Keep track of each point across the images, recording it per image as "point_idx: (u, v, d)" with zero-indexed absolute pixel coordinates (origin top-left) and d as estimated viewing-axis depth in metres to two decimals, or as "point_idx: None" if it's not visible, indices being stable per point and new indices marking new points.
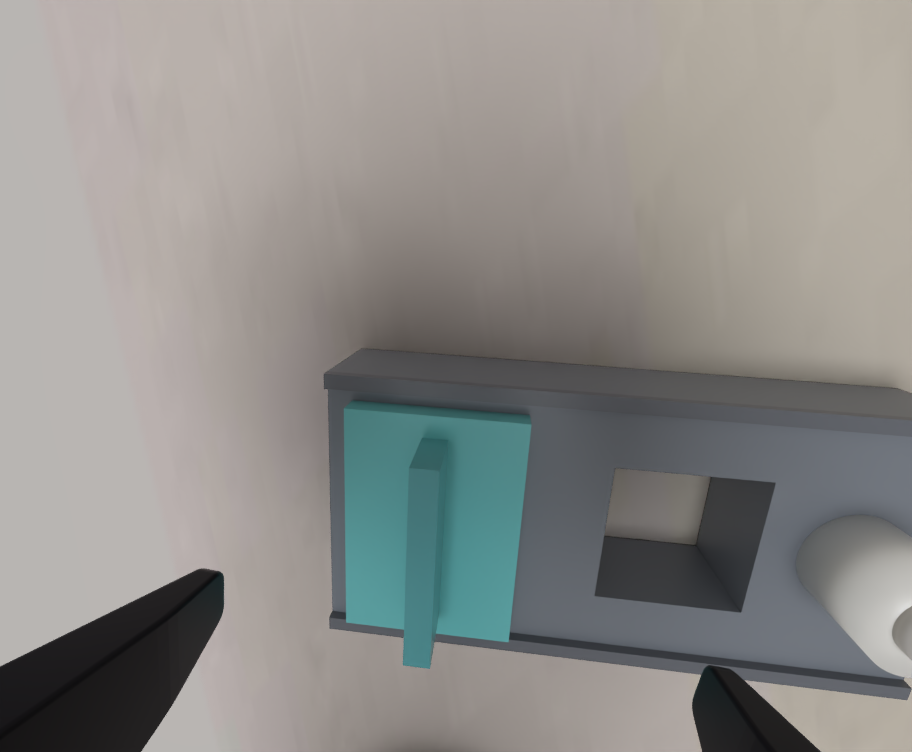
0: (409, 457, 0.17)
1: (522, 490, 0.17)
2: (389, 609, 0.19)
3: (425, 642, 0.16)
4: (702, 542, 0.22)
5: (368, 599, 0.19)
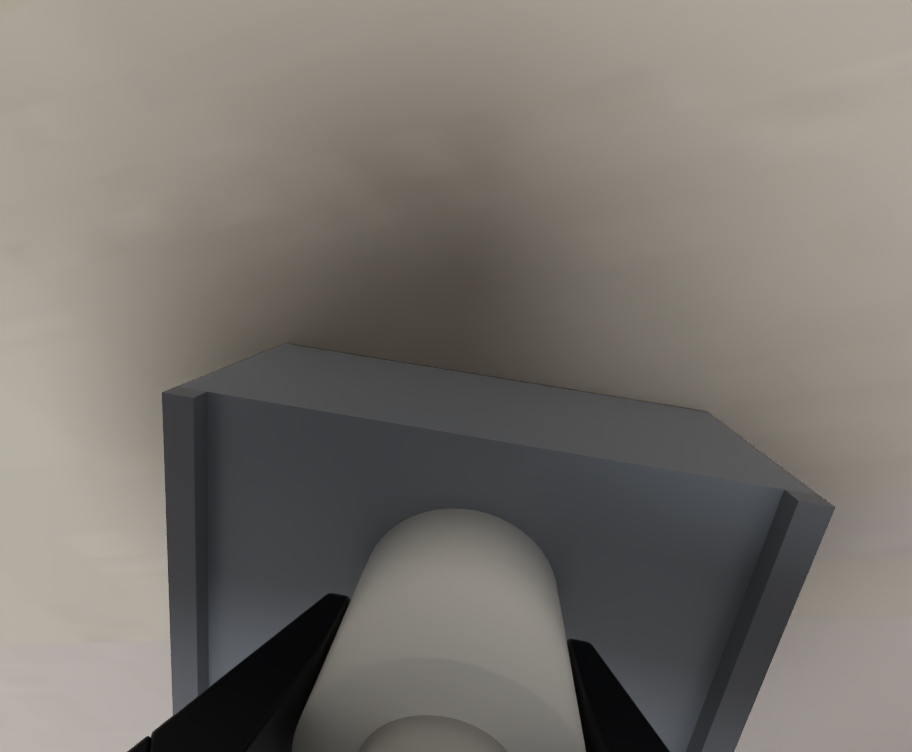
0: None
1: None
2: None
3: None
4: None
5: None
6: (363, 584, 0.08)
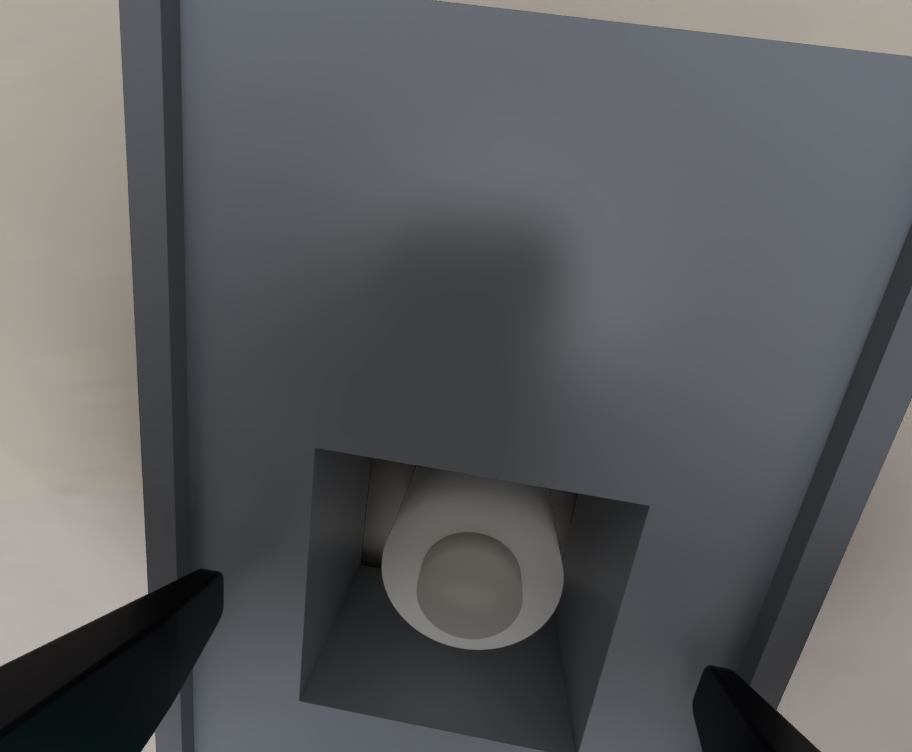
0: None
1: None
2: None
3: None
4: None
5: None
6: (417, 475, 0.12)
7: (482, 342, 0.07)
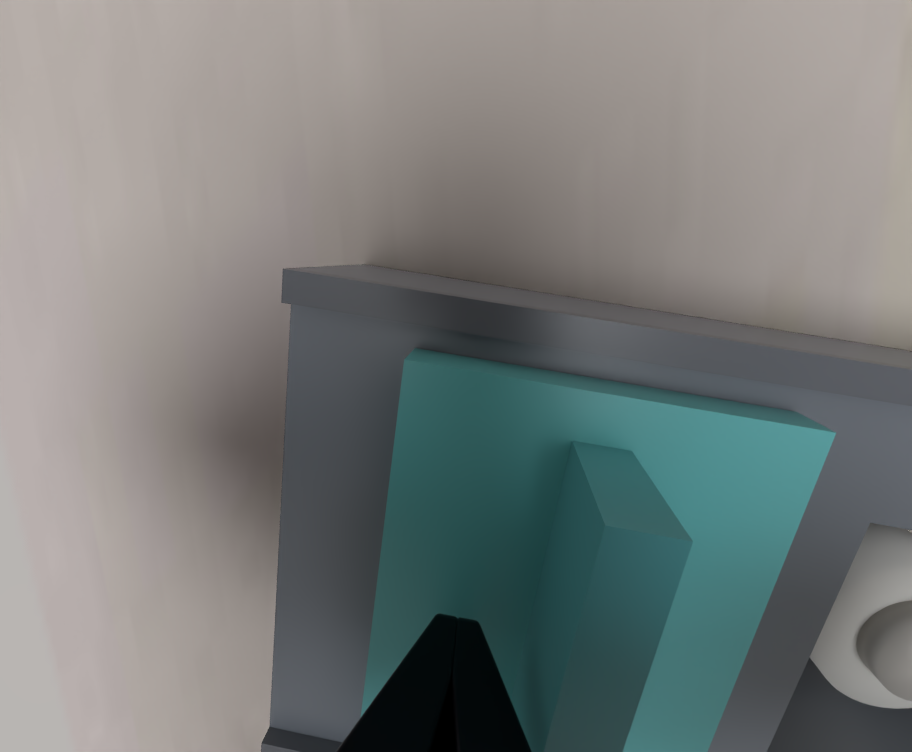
0: (536, 480, 0.08)
1: (775, 573, 0.08)
2: None
3: None
4: None
5: None
6: None
7: None
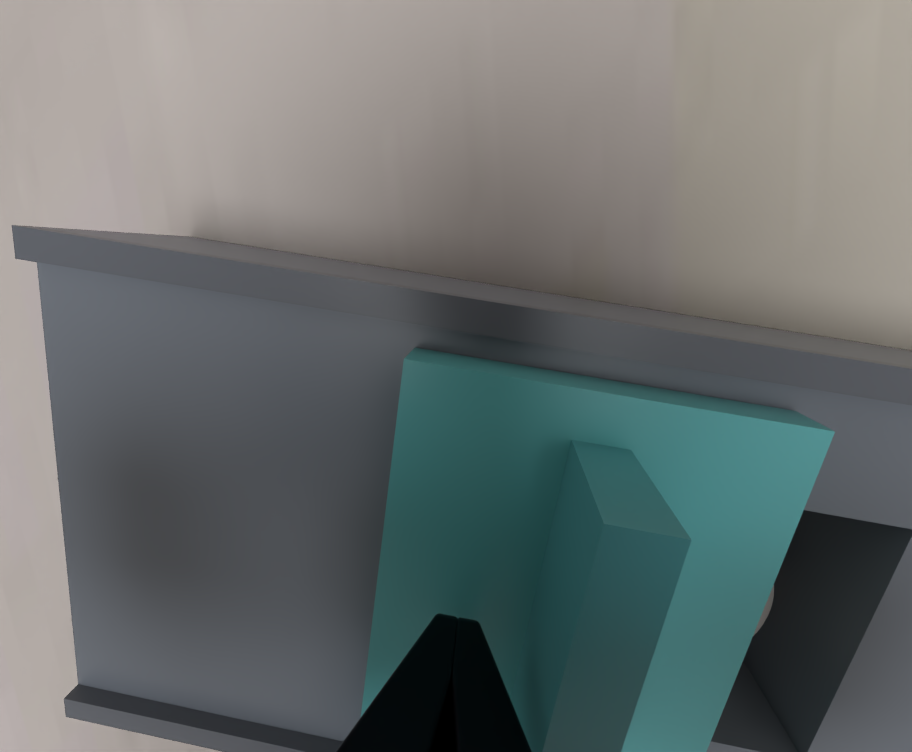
0: (535, 479, 0.08)
1: (774, 572, 0.08)
2: None
3: None
4: None
5: None
6: None
7: None
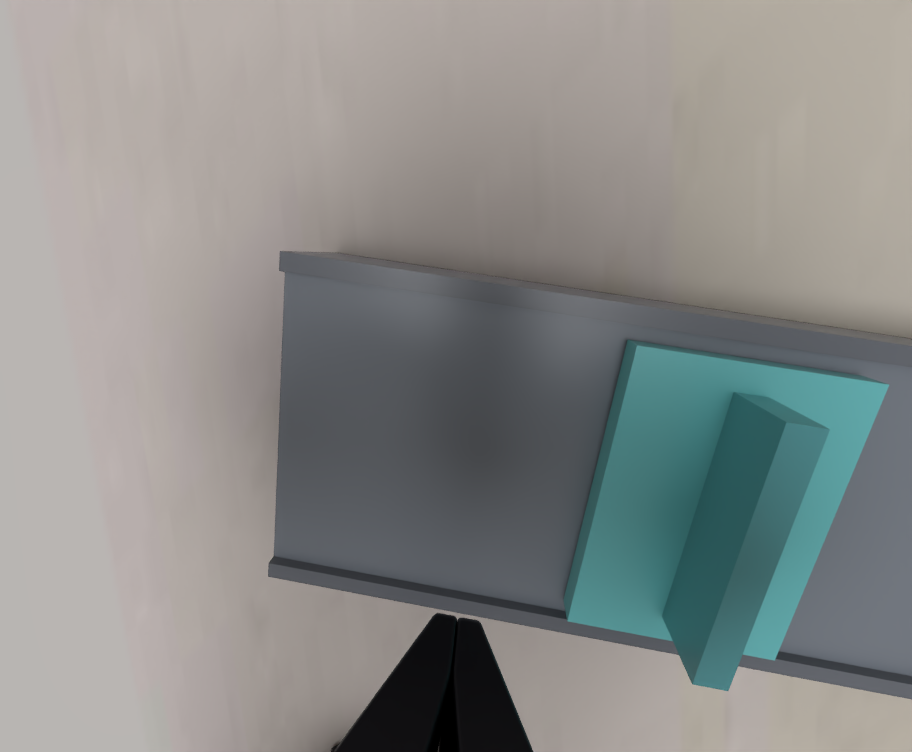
0: (709, 416, 0.13)
1: (851, 470, 0.13)
2: (629, 608, 0.15)
3: (732, 657, 0.12)
4: None
5: (604, 594, 0.15)
6: None
7: (866, 518, 0.15)
